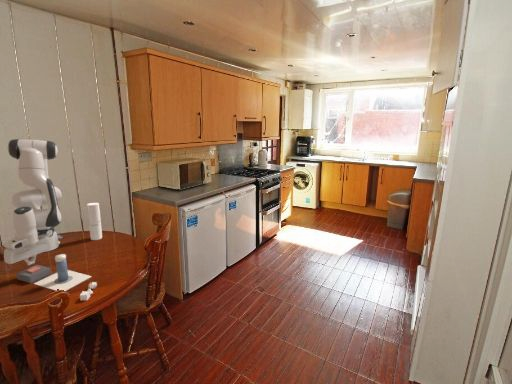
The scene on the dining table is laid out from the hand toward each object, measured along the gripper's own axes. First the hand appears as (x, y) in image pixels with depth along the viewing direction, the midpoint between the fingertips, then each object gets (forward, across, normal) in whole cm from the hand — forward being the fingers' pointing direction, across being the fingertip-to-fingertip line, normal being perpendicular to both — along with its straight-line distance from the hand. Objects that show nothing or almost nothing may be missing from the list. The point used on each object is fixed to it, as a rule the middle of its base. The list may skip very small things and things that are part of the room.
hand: (31, 264), depth 146 cm
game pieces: (+7, -1, +40) cm, 40 cm away
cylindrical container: (+8, -51, -15) cm, 54 cm away
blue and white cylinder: (+6, -4, +18) cm, 19 cm away
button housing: (+7, 0, +1) cm, 7 cm away
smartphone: (+9, -40, -45) cm, 61 cm away
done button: (+6, 0, +1) cm, 6 cm away
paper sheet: (+7, -4, +18) cm, 20 cm away
